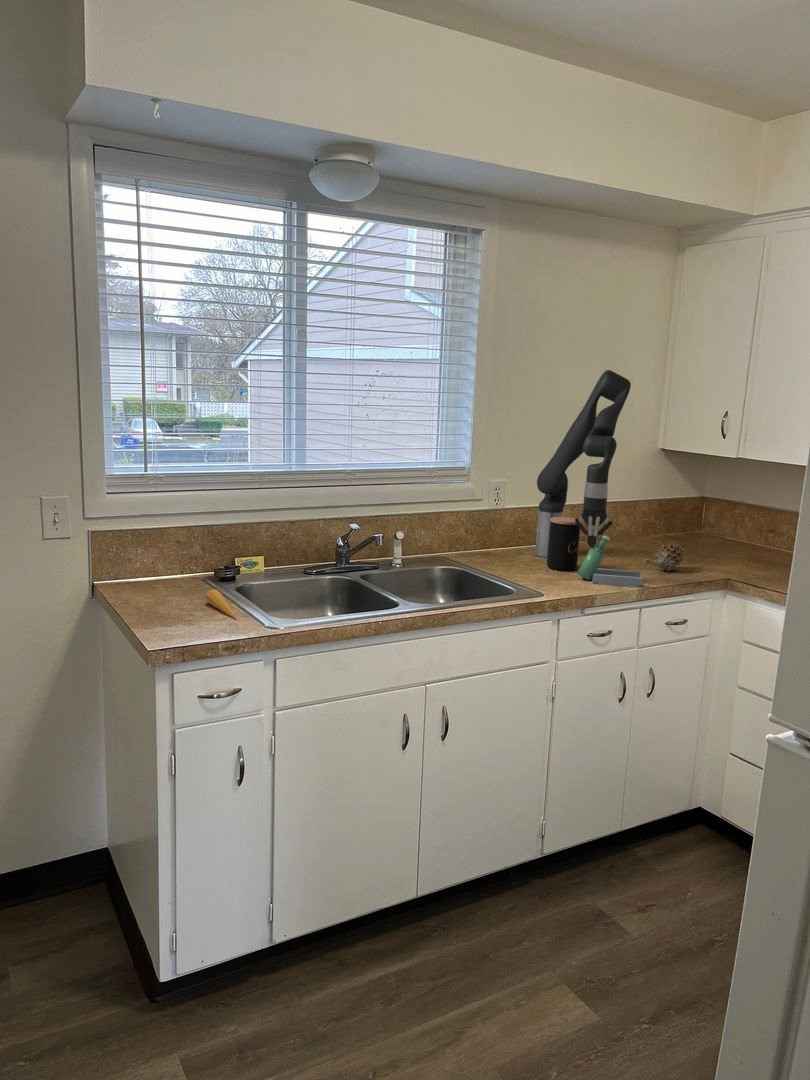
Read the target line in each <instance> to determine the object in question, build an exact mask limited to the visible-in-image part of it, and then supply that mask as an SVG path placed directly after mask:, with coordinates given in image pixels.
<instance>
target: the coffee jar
mask: <svg viewBox="0 0 810 1080" xmlns="http://www.w3.org/2000/svg"><path fill="white" fill-rule="evenodd" d="M575 518H576V517H569V516H563V517H552V518H550V521H551V524H550V529H549V542H548V555H547V557H546V565H547V568H548V569H549V568H550V569H549V570H551V569H552V570H551V571H555V570H557V571H556V572H561V571H570V572H573V570H574V571H576V569H577V568H578V567H577V566H578V558H579V557H578V556H579V546H580V536H581V535H580V533H581V529H580V527H579V526H578V525H577V523H576V522H575Z"/></svg>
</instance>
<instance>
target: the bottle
mask: <svg viewBox="0 0 810 1080" xmlns="http://www.w3.org/2000/svg"><path fill="white" fill-rule="evenodd" d="M610 539H611V537H610V536H608V535H606V534H604V533H603V534H602V535H600V538H599V540H598V541H597V543H596V545H594V547H589V551H587V554H586V555H585V557H584V559H583V561H582V563H581V564H580V567H579V568H578V570H577V575H578V576H580V577H581V578H583V579H586V580H588V581H592V577H593V574H594V573H595V572H596V570H597V568H599V566H600V564H601V562H602V561H603V559H604V557H605V555H606V554H605V553H604V552H605V547H606V546H607V544H608V542H609V541H610Z"/></svg>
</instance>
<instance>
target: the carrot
mask: <svg viewBox="0 0 810 1080" xmlns="http://www.w3.org/2000/svg"><path fill="white" fill-rule="evenodd" d="M205 600H206V601H207V603H209V604H210V605H211V606H212V607H214V608H215V609H217V608H218V609H217V610H219V611H220V610H221V612H222V613H223V614H225V615H227V616H228V615H229V617H230V616H231V617H230V618H232V617H233V619H234V618H235V620H236V619H237V617H236V615H235V612H234V611H233V610H232V608H231V607H230V605H229V603H228V602H227V600H226V599H225V598H224V596H223V595H222V593H221V592H220V591H219V590H218V589H209V590H208V591H207V592H206V593H205Z"/></svg>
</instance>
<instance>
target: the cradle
mask: <svg viewBox="0 0 810 1080" xmlns="http://www.w3.org/2000/svg"><path fill="white" fill-rule="evenodd" d="M591 581H593V582H592V584H593V583H598V584H597V585H603V584H606V585H605V586H615V585H618V586H617V587H630V588H641V589H642V588H643V584H644V583H643V582H644V579H643V577H641V572H640V571H638V570H625V569H613V568H601V567H598V568H597V570H596V572H595V573H594V574H593V577H592V579H591Z"/></svg>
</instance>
